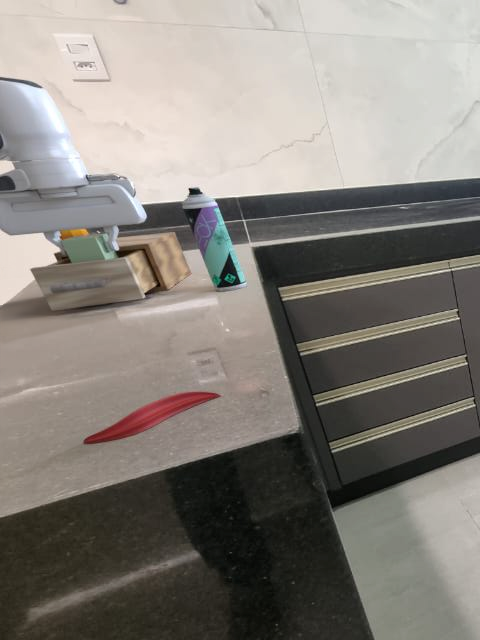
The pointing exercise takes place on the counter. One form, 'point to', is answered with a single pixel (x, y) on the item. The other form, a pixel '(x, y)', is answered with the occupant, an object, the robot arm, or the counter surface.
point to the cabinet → (156, 257)
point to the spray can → (213, 241)
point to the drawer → (96, 280)
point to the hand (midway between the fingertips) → (92, 253)
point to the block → (88, 248)
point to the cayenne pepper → (151, 415)
